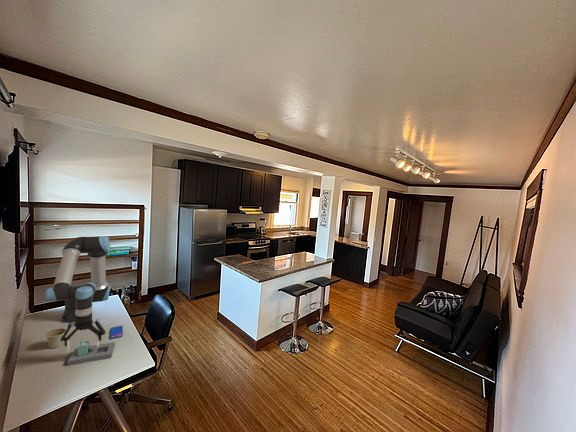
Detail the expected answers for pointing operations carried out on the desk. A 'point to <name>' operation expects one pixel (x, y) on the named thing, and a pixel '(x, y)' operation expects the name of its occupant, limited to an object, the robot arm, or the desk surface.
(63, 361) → the desk surface
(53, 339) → the flower pot
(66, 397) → the desk surface
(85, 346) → the charger
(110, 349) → the outlet plate
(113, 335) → the smartphone
